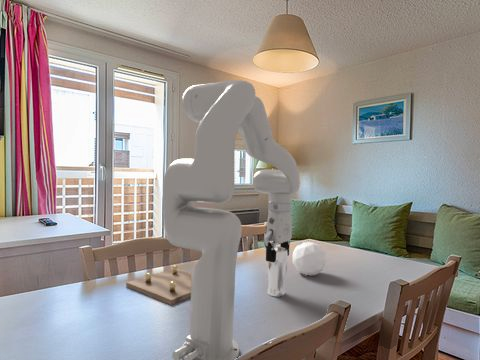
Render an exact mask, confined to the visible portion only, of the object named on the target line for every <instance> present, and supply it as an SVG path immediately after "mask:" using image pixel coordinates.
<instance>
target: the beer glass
mask: <svg viewBox="0 0 480 360" xmlns="http://www.w3.org/2000/svg"><path fill="white" fill-rule="evenodd" d="M274 250H276V251H275V262H269V261H266V273H267V282H268V283H267V288H266V294H267V295H268V296H271V297H274V298H276V297H278V298H280V296H281V297H284V296H285V294H286V293H285V291H286V290H285V278H286V274H287V271H288V262H289V261H288V260H289V259H288V257H289V256H287V249H286V248H283V247H280V246H275V249H274ZM283 295H284V296H283Z"/></svg>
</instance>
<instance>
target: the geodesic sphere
mask: <svg viewBox="0 0 480 360" xmlns="http://www.w3.org/2000/svg"><path fill="white" fill-rule="evenodd" d="M291 256H292V265H293V266H294V267H295V269H296V270H297V272H299V273H301V274H302V275H304V274H305V275H304V276H306V275H309V276H316V275H318V274H319V273H321V272H323V271H324V268H325V266H326V263H327V261H326V252H325V250H324V249H323V248H322V246H321V245H320V244H318V243H316V242H314V241H311V240H307V242H305V241H298V242H297V245H296V247H295V248H294V250H293V253H292V255H291Z"/></svg>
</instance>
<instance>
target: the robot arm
mask: <svg viewBox="0 0 480 360" xmlns="http://www.w3.org/2000/svg"><path fill="white" fill-rule="evenodd" d="M181 102H182V103H181V104H182V109H183V113H184V114H185V115H186V116H187V117H188V118H189V120H191V121H192V122H195V123H197V124H198V126H197V128H196V131H195V134H194V151H193V153H194V156H193V158H179V159H175V160H174V161H173V162H172V163H170V164H169V165H168V167H167V168H166V171H165V173H164V177H163V181H162V196H163V197H162V198H163V199H162V203H163V204H162V205H163V226H164V234H165V238H166V239H167V241H168V242H169V244H170V245H172V246H174V247H177V248H180V249H181V248H183V249H187V250H193V251H197V252H200V253H201V256H200V258H199V259H198V260H197V261H196V263H195V265H194V266H193V269H192V271H191V273H192V277H191V297H190V311H189V313H190V314H189V335H186V336H185V342H183V344H182V346H181V347H179V348H178V349H176V350H174V351H172V358H173V360H182V359H183V360H234V359H235V358H237V357H238V358H239V355H240V346H239V343H238V342H237V341H236V340H235V339H234V338H233V336H234V319H235V318H234V316H235V315H234V312H235V293H236V292H235V291H236V289H235V287H236V269H237V268H236V267H237V257H238V252H239V248H240V243H241V239H242V231H243V229H242V228H243V226H242V222H241V220H240V218H239V217H238V216H237V215H236V214H235V213H233V212H231V211H228V210H226V209H220V208H213V207H211V208H210V207H200V206H199V207H197V206H195V203H203V204H204V203H206V204H223V203H226V202H227V203H228V201H230V200H231V199H232V197H233V195H234V192H235V151H236V150H235V149H236V148H235V147H236V145H235V144H236V136H237V134H239V138H240V139H241V141H242V144H243V147H244V150H245V152H246V154H247V155H248V156H249V157H251V158H253V159H255V160H257V161H259V162H262V163H265V164H268V165H270V166H273V167H274V168H277V169H260V170H258V171H257V172H256V173H254V175H253V177H252V186H253V188H254V189H255V191H257V192H258V193H261V194H267V195H268V200H267V201H268V208H267V209H268V210H267V211H268V215H267V220H266V233H265V235H264V236H263V242H264V243H263V244H264V246H265V262H267V261H269V262H275V251H276V250H274V249H275V247H277V244H279V245H280V246H279V247H283V248H286V249H287V256H288V257H289V256H290V244H291V239H292V237H293V234H292V233H293V228H292V227H293V224H292V223H293V220H292V195H296V194H297V193H298V191H299V190H300V187H301V186H300V185H301V179H300V173H299V169H298V165H297V162H296V160H295V158H294V157H293V156H292V154H291V153H290V152H289V151H288V150H287V149H285V148H284V147H283V146H282V145H281V144H279V143H278V142H276V141H275V139H274V135H273V132H272V128H271V125H270V121H269V117H268V114H267V111H266V107H265V105H264V101H262V99H261V98H260V97H258V96H256V90H255V86H254V85H253V84H252V83H250V81H247V80H242V79H241V80H240V79H239V80H238V79H237V80H236V79H235V80H226V81H217V82H210V83H209V82H208V83H201V84H193V85H192V86H189V87H188V88H187V89H186V90H185V91H184V93H183V95H182V101H181ZM237 132H238V133H237ZM238 358H237V359H238Z"/></svg>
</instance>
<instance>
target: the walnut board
mask: <svg viewBox="0 0 480 360" xmlns="http://www.w3.org/2000/svg"><path fill="white" fill-rule="evenodd" d="M191 277H192V271H191V272H190V271H187V270H184V269H182V268H181V269H180V268H178V265H177V264H173V265H172V268H171V269H167V270H163V271H160V272H157V273H154V274H152V272H146V273H145V276H143V277H140V278H137V279H134V280H130V281H126V284H125V285H126V286H125V287H126V288H128V289H130V290H133V291H135V292H137V293H140V294H143V295H145V296H148V297H150V298H152V299H155V300H158V301H159V302H161V303H165V304H167V305H169V306H172V305H174V304H177V303H180V302H182V301H184V300H186V299H190V298H191Z"/></svg>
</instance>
